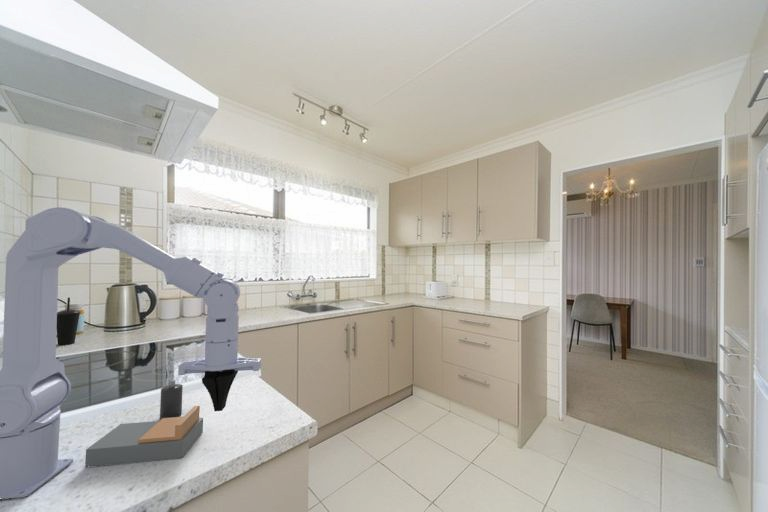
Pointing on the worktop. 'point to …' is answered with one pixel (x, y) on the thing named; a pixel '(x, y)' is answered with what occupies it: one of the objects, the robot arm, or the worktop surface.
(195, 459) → the worktop surface
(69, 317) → the drinking cup
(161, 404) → the plug
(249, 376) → the worktop surface
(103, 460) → the socket block
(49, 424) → the robot arm
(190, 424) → the tan l-shaped bracket
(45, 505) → the worktop surface
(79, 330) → the bottle
